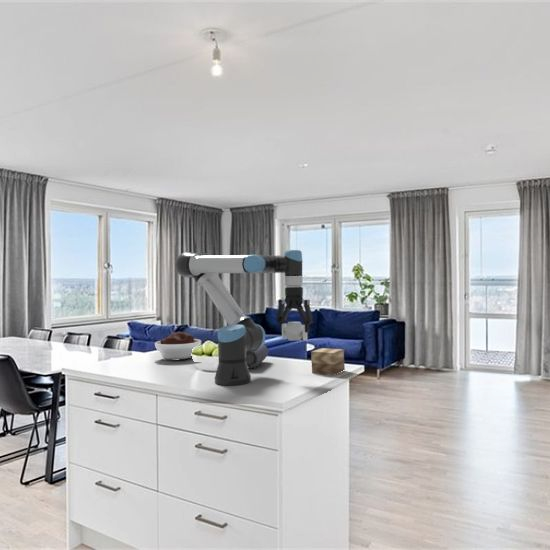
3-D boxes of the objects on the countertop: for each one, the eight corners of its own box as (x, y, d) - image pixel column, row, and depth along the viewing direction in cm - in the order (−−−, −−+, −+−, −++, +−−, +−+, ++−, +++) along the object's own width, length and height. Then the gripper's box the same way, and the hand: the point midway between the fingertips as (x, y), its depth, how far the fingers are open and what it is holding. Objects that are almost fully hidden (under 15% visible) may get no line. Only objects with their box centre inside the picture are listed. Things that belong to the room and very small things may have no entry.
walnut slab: (312, 373, 219) (311, 362, 219) (323, 369, 228) (322, 358, 229) (334, 375, 213) (334, 364, 213) (344, 371, 223) (344, 360, 223)
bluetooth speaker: (251, 361, 252) (251, 342, 252) (269, 361, 250) (268, 342, 250) (239, 370, 230) (239, 349, 230) (259, 370, 228) (258, 349, 228)
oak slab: (311, 362, 219) (311, 351, 219) (322, 358, 229) (322, 348, 229) (333, 364, 213) (333, 353, 213) (343, 360, 223) (343, 349, 223)
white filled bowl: (145, 361, 259) (144, 333, 259) (173, 354, 282) (172, 328, 282) (185, 364, 250) (184, 334, 250) (210, 356, 272) (209, 329, 273)
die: (298, 343, 200) (309, 324, 203) (280, 333, 202) (291, 313, 205) (297, 348, 208) (308, 329, 211) (279, 337, 209) (291, 319, 212)
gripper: (321, 286, 203) (322, 340, 203) (276, 286, 215) (277, 337, 215) (312, 286, 197) (313, 342, 197) (267, 286, 209) (267, 339, 209)
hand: (294, 339), depth 206 cm, fingers closed on die, 9 cm apart
